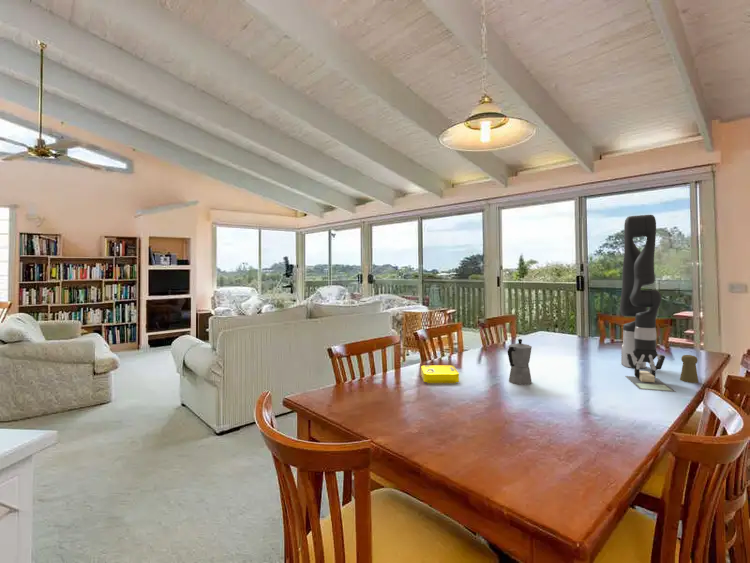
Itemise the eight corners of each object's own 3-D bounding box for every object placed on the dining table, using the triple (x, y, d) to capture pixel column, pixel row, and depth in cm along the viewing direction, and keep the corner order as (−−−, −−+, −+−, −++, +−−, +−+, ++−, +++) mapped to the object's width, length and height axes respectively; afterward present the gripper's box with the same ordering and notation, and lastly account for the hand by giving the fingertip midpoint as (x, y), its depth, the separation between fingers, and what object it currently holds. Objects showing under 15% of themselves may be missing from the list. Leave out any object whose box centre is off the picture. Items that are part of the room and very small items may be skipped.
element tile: (459, 384, 163) (459, 372, 163) (424, 384, 163) (423, 373, 163) (453, 374, 178) (453, 364, 178) (420, 374, 178) (420, 364, 178)
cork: (691, 379, 164) (692, 353, 164) (702, 383, 158) (702, 357, 158) (676, 379, 164) (676, 353, 164) (686, 383, 158) (686, 356, 158)
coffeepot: (518, 376, 172) (518, 335, 171) (538, 381, 164) (538, 338, 164) (498, 383, 162) (498, 340, 161) (519, 388, 155) (519, 343, 154)
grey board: (624, 376, 169) (624, 375, 169) (657, 378, 166) (657, 377, 166) (639, 390, 151) (639, 388, 151) (676, 393, 147) (676, 391, 147)
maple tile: (635, 376, 167) (635, 370, 167) (647, 377, 166) (647, 371, 166) (641, 381, 160) (641, 375, 160) (654, 382, 158) (654, 376, 158)
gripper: (628, 338, 161) (627, 379, 162) (669, 340, 156) (668, 382, 157) (622, 335, 168) (622, 374, 169) (662, 337, 164) (661, 377, 164)
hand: (644, 378), depth 163 cm, fingers closed on maple tile, 4 cm apart
